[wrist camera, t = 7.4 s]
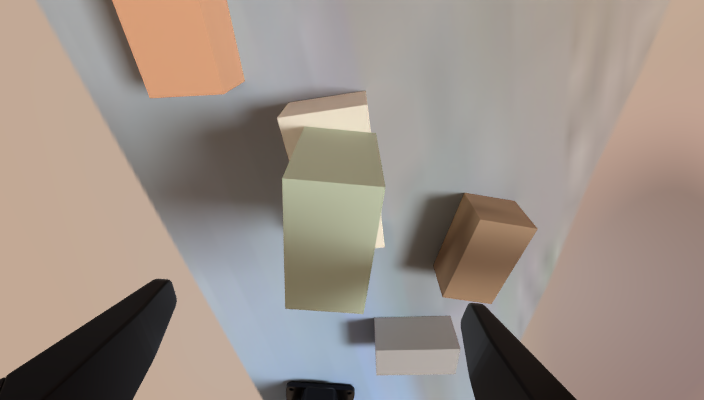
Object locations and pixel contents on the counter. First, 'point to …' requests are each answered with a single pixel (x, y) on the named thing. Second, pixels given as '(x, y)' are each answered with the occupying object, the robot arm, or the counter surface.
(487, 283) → the walnut brick
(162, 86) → the terracotta brick
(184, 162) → the counter surface
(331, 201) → the sage brick
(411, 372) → the grey brick
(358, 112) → the cream brick
